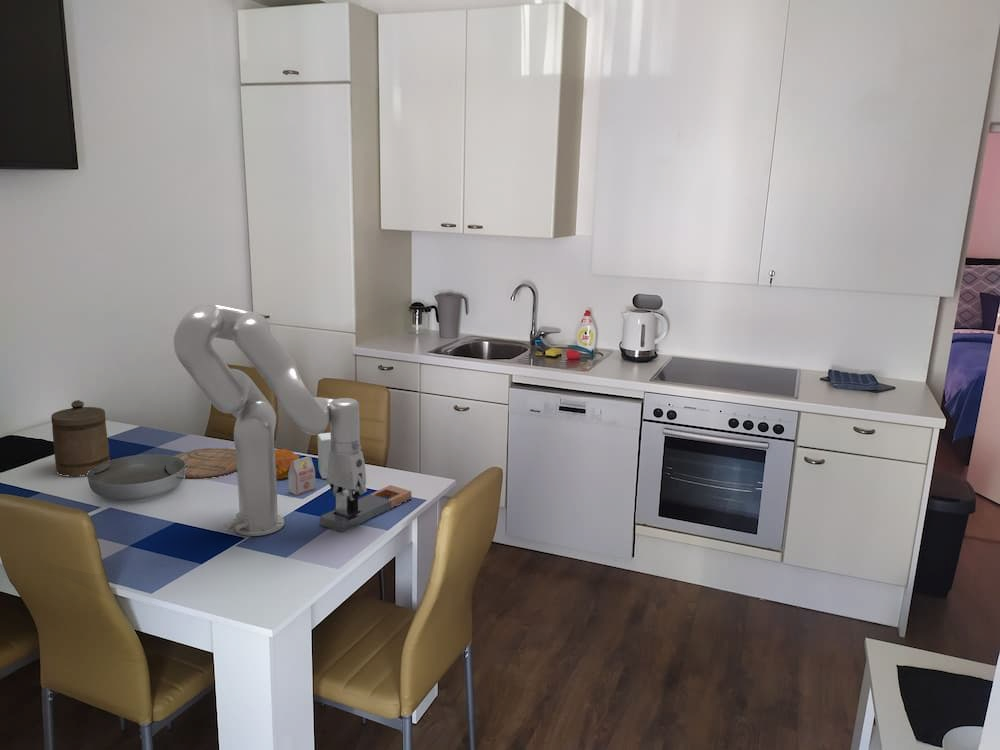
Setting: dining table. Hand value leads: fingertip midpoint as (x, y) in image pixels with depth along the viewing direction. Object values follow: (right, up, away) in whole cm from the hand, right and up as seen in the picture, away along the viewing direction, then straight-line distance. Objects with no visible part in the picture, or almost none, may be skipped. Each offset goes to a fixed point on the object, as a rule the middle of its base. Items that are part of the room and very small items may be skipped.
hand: (346, 509), depth 206 cm
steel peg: (0, -3, +1) cm, 3 cm away
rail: (+4, -2, +7) cm, 9 cm away
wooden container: (-89, +7, +34) cm, 95 cm away
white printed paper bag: (-17, +2, +21) cm, 27 cm away
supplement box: (-12, +5, +35) cm, 37 cm away
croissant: (-28, +5, +35) cm, 45 cm away
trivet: (-52, +7, +40) cm, 66 cm away
